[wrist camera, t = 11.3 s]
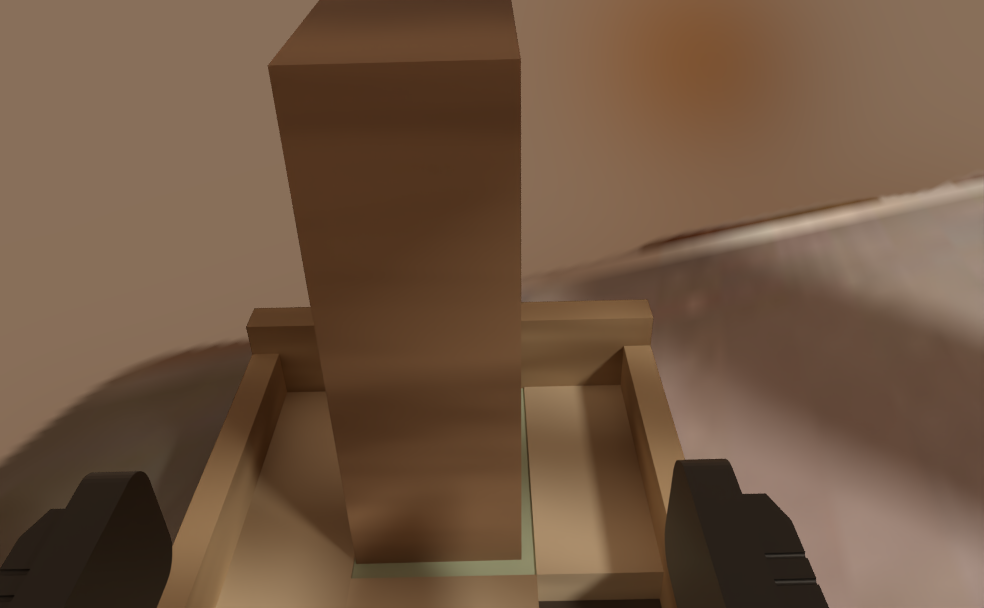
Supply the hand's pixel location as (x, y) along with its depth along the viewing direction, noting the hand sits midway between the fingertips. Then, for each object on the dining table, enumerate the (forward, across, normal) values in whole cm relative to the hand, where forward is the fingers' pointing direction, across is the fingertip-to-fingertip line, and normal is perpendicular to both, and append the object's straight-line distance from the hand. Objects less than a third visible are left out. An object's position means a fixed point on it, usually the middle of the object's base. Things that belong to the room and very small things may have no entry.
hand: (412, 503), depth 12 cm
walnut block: (+7, 0, +6) cm, 9 cm away
